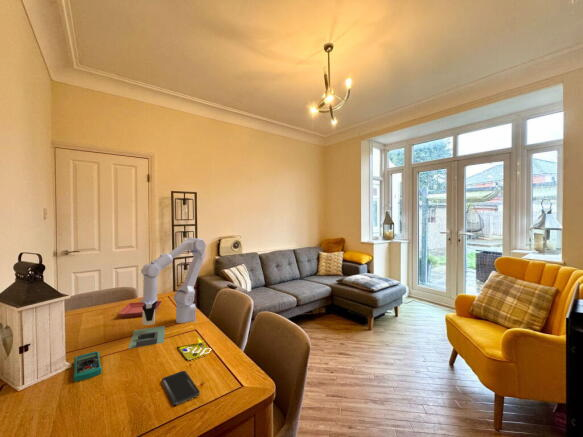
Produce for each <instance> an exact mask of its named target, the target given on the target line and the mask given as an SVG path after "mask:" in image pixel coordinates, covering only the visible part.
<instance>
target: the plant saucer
mask: <svg viewBox="0 0 583 437" xmlns="http://www.w3.org/2000/svg"><path fill="white" fill-rule="evenodd" d="M162 302H163V301H162V300H157V303H156V305H157V306H156V308H155V313H156V312H157V311H158V309H159V308H160V306H161V304H162ZM142 306H145V305H144V303H143V302H140V301H139V302H130V303H127V305H126V306H125V307H124V308H123V309H121V310H120V311H119V313H118V315H119V316H120V317H121V318H123V319H124V318H127V319H128V318H135V317H138V318H139V317H143V309H142Z"/></svg>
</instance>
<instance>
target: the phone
mask: <svg viewBox="0 0 583 437" xmlns="http://www.w3.org/2000/svg"><path fill="white" fill-rule="evenodd" d="M161 385H162V386H163V388H164V390H165V392H166V394H167V396H168V399H169V400H170V402H171V404H172V406H173V405H175V406H174V407H177V406H176V405H178V406H180V405H182V404H181V403H183V402H185V401H187V402H189V401H191V400H190V399H192V398H194V399H196V398H197V397H196V396H198V395H199V396H200V392H201V391H200V390H199V389H198V387H197V386H196V384H195V382H194V381H193V380H192V378H191V376H190V375H189V374H188V373H187V370H182V371H179V372H176V373H173V374H170V375H167V376H165V377H162V379H161ZM199 396H198V397H199ZM195 397H196V398H195ZM188 400H189V401H188ZM192 400H193V399H192ZM185 403H186V402H185ZM179 404H180V405H179ZM183 404H184V403H183Z"/></svg>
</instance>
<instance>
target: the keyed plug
mask: <svg viewBox="0 0 583 437" xmlns="http://www.w3.org/2000/svg"><path fill="white" fill-rule="evenodd" d="M155 318H156V312H155V310H154V313H153V318H152V321H147V320H146V316H145V312H144V310H143V316H142V321H141V322H142V325H144V326H150V325H154V324H155V321H156V319H155Z"/></svg>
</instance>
